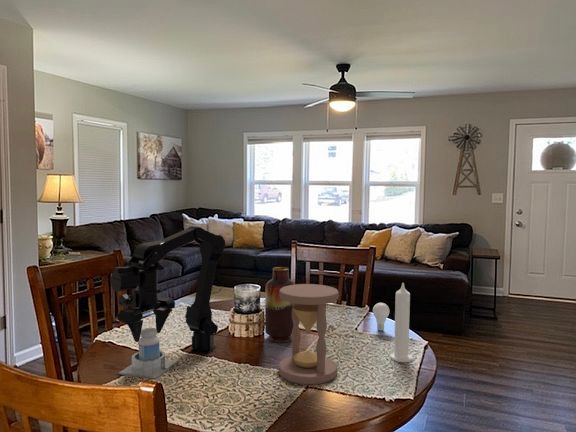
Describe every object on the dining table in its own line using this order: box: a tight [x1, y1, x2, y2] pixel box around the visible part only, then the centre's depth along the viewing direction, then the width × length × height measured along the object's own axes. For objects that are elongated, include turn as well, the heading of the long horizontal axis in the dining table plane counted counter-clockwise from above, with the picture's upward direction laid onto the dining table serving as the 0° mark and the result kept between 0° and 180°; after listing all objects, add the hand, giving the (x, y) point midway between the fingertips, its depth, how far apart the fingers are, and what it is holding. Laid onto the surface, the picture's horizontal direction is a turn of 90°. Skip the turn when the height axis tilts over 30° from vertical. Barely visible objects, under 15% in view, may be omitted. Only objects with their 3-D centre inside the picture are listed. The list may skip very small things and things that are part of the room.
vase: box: [264, 266, 296, 344], centre depth 162 cm, size 11×11×26 cm
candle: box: [389, 282, 413, 363], centre depth 144 cm, size 7×7×25 cm
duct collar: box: [118, 349, 177, 380], centre depth 135 cm, size 12×12×4 cm
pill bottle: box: [138, 327, 161, 361], centre depth 135 cm, size 6×6×11 cm
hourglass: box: [278, 283, 340, 386], centre depth 133 cm, size 18×18×25 cm
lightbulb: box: [372, 302, 390, 332], centre depth 173 cm, size 6×6×11 cm
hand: (147, 337), depth 134 cm, fingers open, 9 cm apart
